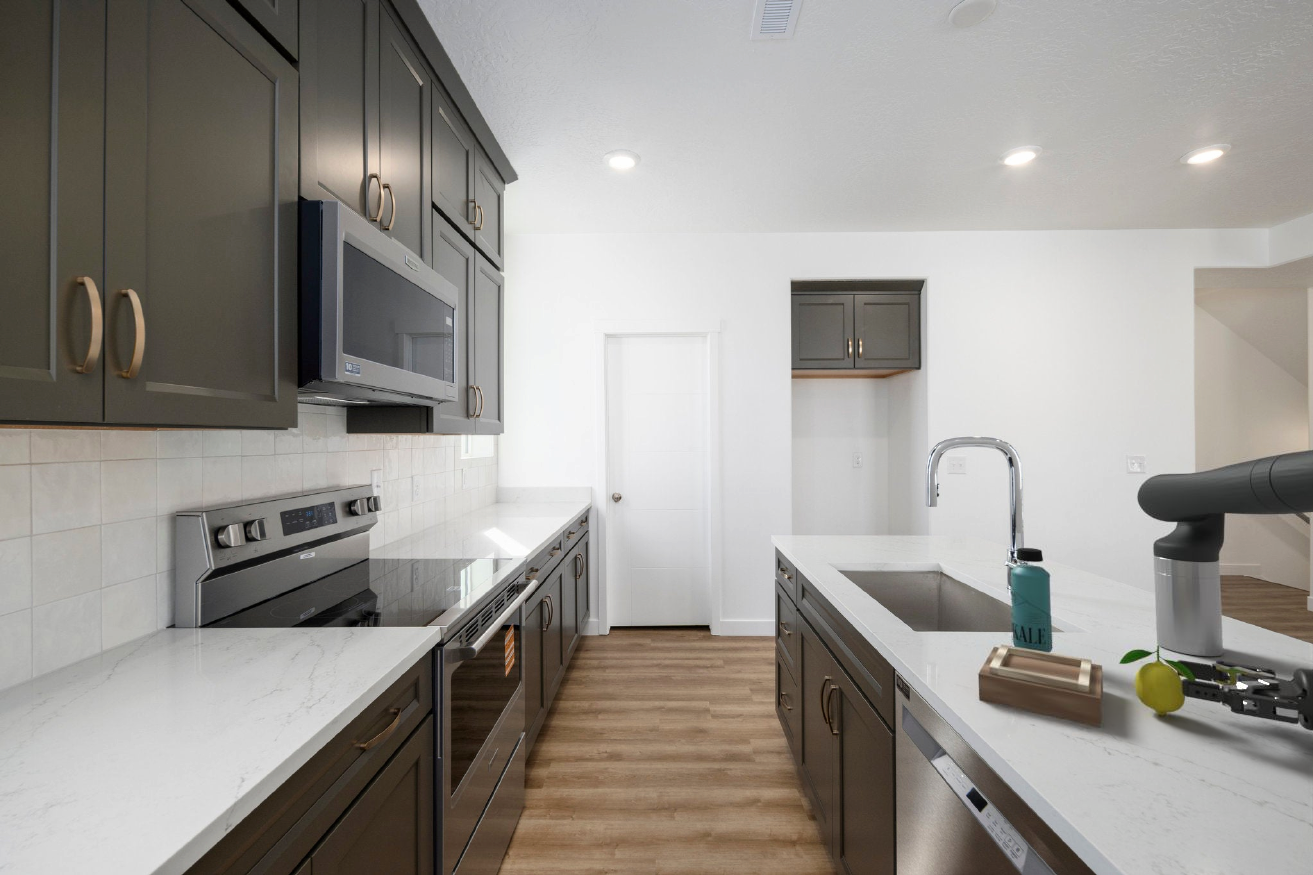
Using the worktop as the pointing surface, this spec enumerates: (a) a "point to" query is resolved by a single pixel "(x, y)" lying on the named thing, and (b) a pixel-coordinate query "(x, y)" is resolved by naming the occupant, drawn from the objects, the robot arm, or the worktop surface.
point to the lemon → (1159, 682)
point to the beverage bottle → (1031, 603)
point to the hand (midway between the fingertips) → (1179, 676)
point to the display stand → (1043, 683)
